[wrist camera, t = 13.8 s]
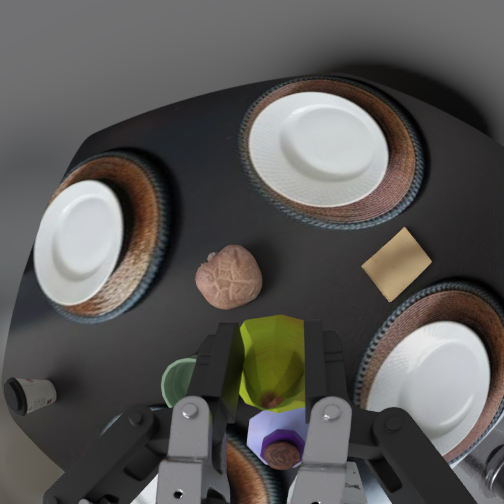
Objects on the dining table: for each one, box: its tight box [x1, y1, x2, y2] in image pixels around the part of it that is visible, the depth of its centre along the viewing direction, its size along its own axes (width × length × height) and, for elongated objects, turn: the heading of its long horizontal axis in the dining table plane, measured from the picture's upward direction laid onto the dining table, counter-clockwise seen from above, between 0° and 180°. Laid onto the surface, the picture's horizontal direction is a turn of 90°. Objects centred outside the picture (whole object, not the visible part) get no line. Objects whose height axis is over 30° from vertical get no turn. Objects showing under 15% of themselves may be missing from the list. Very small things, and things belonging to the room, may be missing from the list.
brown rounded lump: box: [195, 245, 263, 310], centre depth 36 cm, size 8×6×8 cm
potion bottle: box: [247, 407, 309, 470], centre depth 27 cm, size 9×9×12 cm
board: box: [361, 227, 432, 302], centre depth 34 cm, size 6×8×1 cm
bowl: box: [161, 354, 198, 408], centre depth 33 cm, size 8×8×4 cm
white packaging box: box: [287, 461, 368, 504], centre depth 23 cm, size 7×7×13 cm
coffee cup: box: [4, 377, 56, 416], centre depth 34 cm, size 7×7×10 cm
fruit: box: [239, 315, 305, 413], centre depth 13 cm, size 6×6×12 cm
